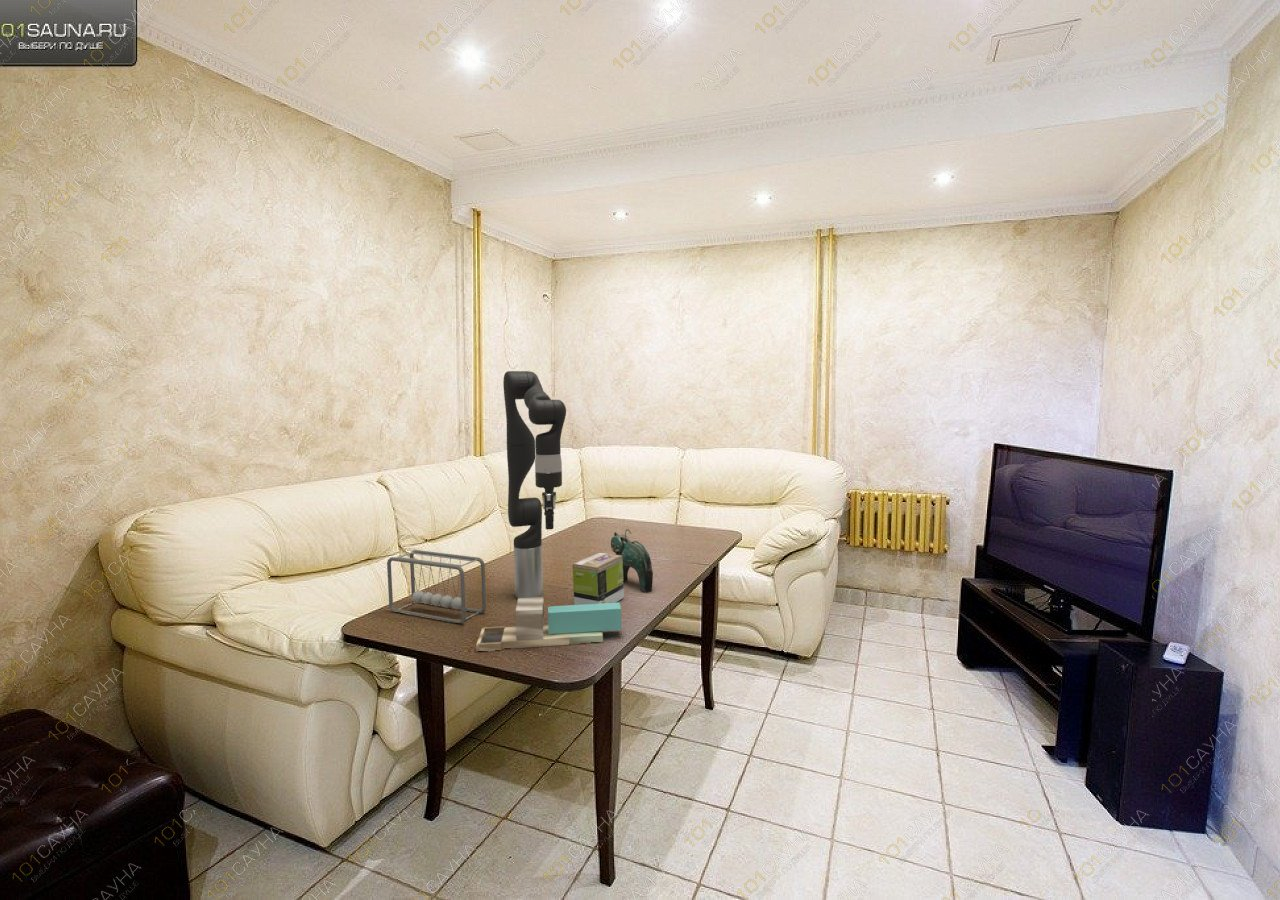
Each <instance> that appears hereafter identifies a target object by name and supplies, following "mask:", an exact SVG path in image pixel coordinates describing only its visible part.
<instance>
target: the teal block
mask: <svg viewBox="0 0 1280 900" xmlns="http://www.w3.org/2000/svg"><path fill="white" fill-rule="evenodd" d="M547 625H548V634H562V633H578V632H594V631H602V632H607V631H621V630H622V606H621V603H620V602H615V603H601V604H584V605H574V604H570V605H569V604H568V605H551V606H547Z"/></svg>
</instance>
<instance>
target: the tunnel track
mask: <svg viewBox="0 0 1280 900" xmlns="http://www.w3.org/2000/svg"><path fill="white" fill-rule="evenodd" d="M544 601H545V600H544V596H541V597H533V598H517V603H516V606H515V607H516V608H515V626H505V625H500V626H485V627H482V628H481V630H480V634H479V635H478V639H477V642H476V645H475V646H476V652H477V651H488V652H496V651H495V650H501V651H502V650H505V649H504V648H511V649H525V648H538V647H539V648H540V647H552V646H553V647H554V646H555V647H557V646H568V645H569V644H571V645H581V644H580V643H586V644H592V643H591V642H601V643H604V635H603V634H604V633H603V631H594V632H578V633H562V634H548V624H545V609H544V607H545V605H544ZM569 646H570V645H569Z"/></svg>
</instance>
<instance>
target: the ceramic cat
mask: <svg viewBox="0 0 1280 900" xmlns="http://www.w3.org/2000/svg"><path fill="white" fill-rule="evenodd" d="M624 531H625V533H624V534H621V535H620V534H618V533H617V532H616V531H614V533H613V536H612V537H611V540H610V549H611V551H612V552H614V553H615V555H621V556H622V558H623V581H626V580H629V579H628V575H629V574H628V573H629V570H630V568H631V569H633V570H635V572H636V574H637V576H638V581H639V587H640V592H642V591H643V592H642V593H645V592H646V593H649V592H648V591H650V592H652V591H653V582H654V581H653V578H654V577H653V576H654V571H653V567H652V566H653V565H652V564H653V563H652V561H651V560H652V559H651V556H650V554H649V551H648V550H647V548H645V546H644V545H643V543H642V542H639V541H637V540H635V541H631V539H630V538H629V536H627V531H628V533H629V534H630V535H632V532H631V530H630V529H629V528H626V529H625V530H624ZM626 582H627V581H626Z"/></svg>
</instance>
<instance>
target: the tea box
mask: <svg viewBox="0 0 1280 900" xmlns="http://www.w3.org/2000/svg"><path fill="white" fill-rule="evenodd" d="M624 583H625V582H623V558H622V556H621V555H616V554H611V553H603V552H596V553H594V554H592V555H589V556H587V557H584V558H582V559H580V560H578V561H575V562H573V563H572V584H573V587H572V588H573V603H574V604H573V605H584V604H601V603H618V602H619V601H620V600H623V599H624V598H625V586H624Z"/></svg>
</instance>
